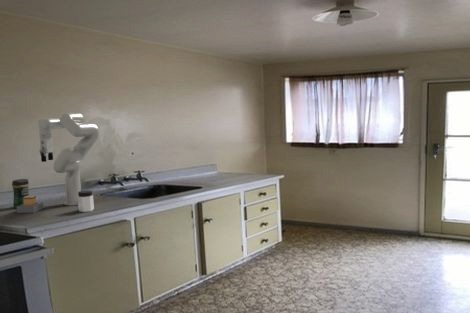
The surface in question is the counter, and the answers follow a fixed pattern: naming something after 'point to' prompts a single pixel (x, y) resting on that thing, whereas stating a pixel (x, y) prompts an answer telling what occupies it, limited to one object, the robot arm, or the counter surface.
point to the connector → (29, 200)
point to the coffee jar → (20, 191)
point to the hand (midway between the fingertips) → (47, 160)
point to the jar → (85, 201)
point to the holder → (30, 208)
